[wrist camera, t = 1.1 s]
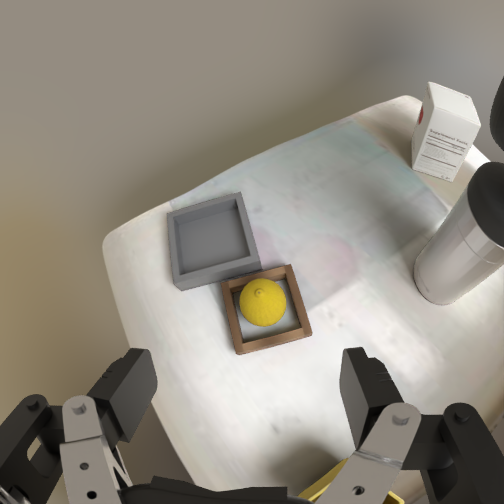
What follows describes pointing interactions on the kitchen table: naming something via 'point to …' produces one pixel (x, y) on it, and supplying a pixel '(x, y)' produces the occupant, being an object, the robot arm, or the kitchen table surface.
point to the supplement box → (443, 132)
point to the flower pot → (317, 489)
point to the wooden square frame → (275, 340)
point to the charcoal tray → (211, 242)
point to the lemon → (262, 302)
